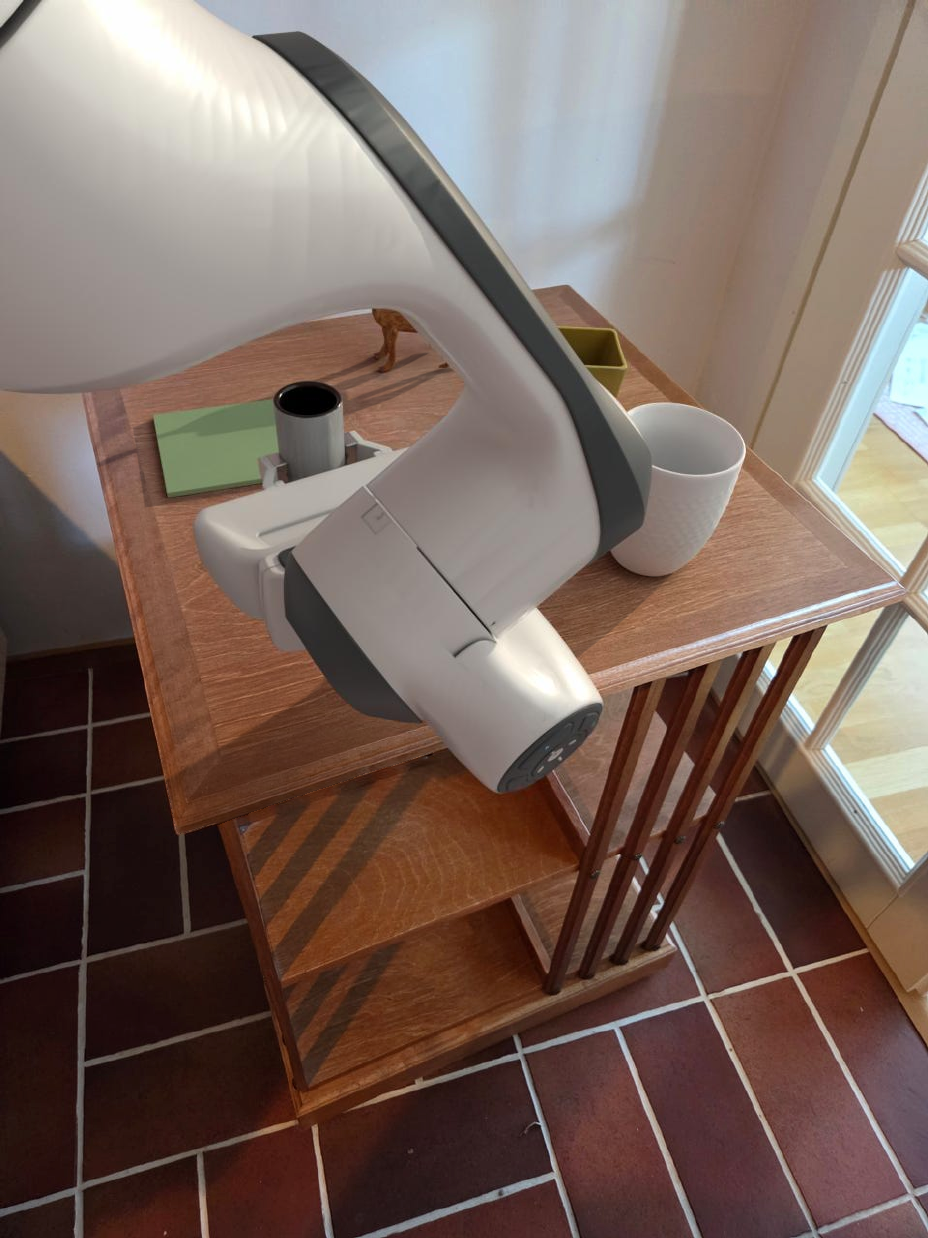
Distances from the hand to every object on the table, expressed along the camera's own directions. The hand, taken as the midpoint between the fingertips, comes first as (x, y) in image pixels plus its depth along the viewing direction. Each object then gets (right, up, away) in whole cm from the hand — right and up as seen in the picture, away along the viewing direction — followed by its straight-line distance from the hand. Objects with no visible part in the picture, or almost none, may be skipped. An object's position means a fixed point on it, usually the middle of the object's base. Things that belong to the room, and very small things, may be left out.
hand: (306, 451), depth 59 cm
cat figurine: (+7, +20, +42) cm, 47 cm away
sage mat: (-12, +6, +28) cm, 31 cm away
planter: (0, -4, +4) cm, 6 cm away
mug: (+28, -5, +21) cm, 36 cm away
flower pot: (+23, +11, +35) cm, 44 cm away
